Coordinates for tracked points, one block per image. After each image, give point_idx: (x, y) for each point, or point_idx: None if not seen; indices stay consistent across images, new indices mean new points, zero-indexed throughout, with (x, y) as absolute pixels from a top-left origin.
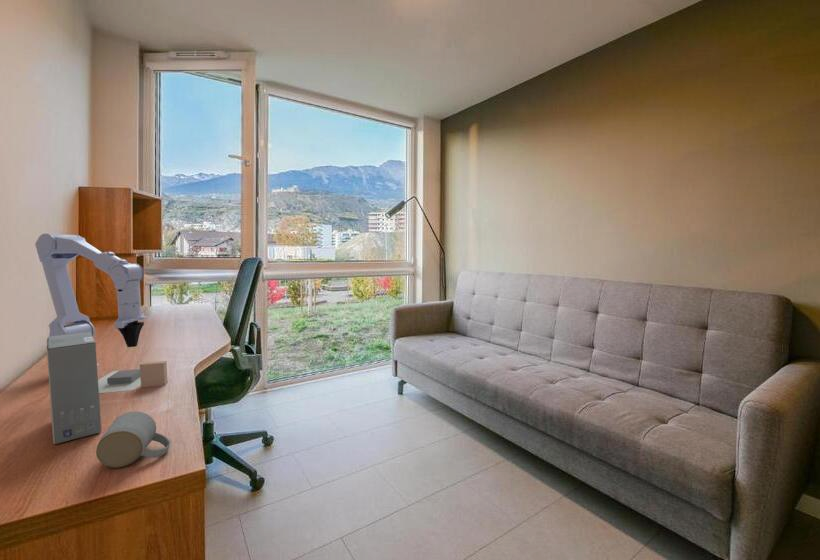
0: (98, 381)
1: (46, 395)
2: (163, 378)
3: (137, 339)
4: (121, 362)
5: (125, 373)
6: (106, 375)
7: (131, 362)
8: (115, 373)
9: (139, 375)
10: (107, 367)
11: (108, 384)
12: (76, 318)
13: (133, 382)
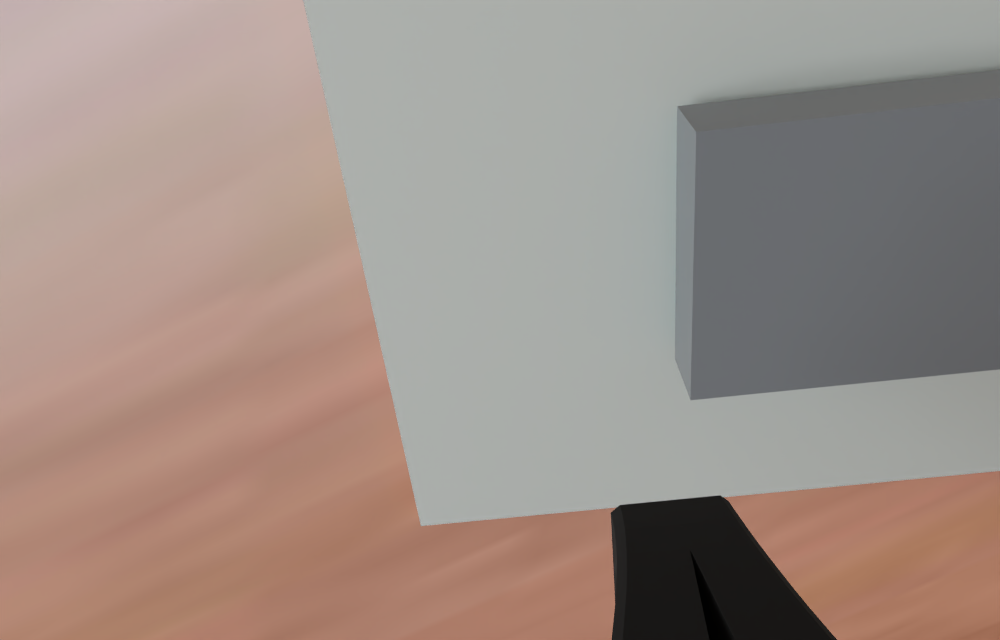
0: (778, 471)
1: (984, 635)
2: None
3: (687, 625)
4: (61, 612)
5: (872, 258)
6: (571, 505)
7: (44, 530)
8: (813, 383)
9: (783, 97)
10: (243, 635)
11: None
12: None
13: (997, 54)
